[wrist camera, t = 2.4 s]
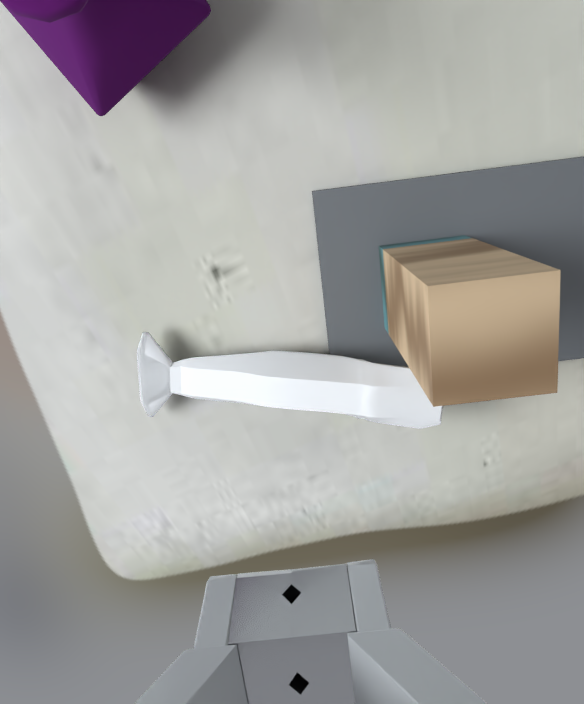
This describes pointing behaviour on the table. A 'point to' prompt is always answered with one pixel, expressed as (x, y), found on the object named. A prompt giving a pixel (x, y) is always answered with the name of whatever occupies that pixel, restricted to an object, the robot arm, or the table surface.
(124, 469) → the table surface
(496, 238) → the rubber mat
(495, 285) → the oak block
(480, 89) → the table surface
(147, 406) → the white fish figurine
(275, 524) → the table surface
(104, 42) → the perfume bottle
